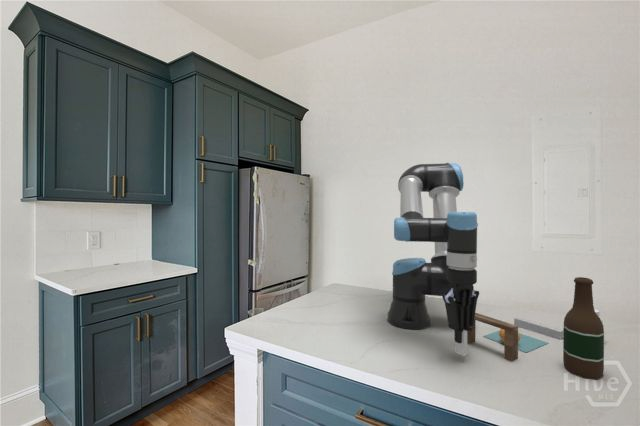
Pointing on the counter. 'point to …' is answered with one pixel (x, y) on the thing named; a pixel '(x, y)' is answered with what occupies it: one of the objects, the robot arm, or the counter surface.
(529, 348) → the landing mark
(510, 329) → the bridge
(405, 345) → the counter surface
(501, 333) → the ball
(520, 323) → the wall
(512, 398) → the counter surface
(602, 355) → the beer bottle
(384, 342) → the counter surface
